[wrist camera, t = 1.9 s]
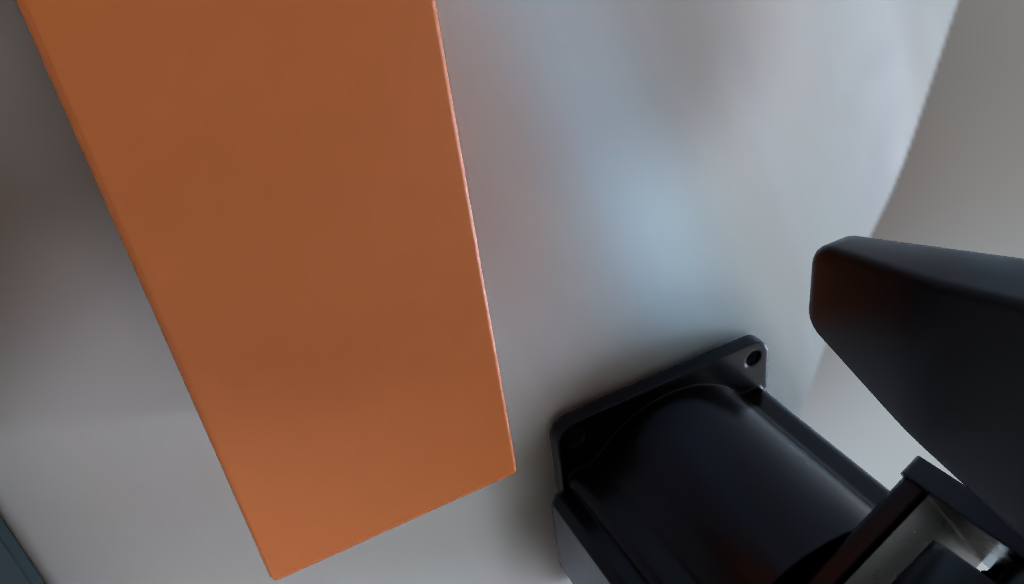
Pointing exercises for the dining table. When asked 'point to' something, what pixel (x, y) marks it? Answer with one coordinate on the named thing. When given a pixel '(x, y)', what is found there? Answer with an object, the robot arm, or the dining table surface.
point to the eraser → (297, 247)
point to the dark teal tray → (15, 561)
